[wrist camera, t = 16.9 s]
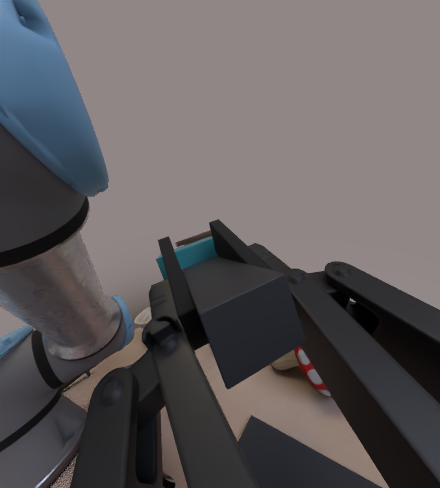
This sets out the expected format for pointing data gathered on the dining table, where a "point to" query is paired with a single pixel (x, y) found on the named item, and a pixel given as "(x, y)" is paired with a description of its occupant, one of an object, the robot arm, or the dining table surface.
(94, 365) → the knife
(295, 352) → the decorative mushroom
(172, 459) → the dining table surface
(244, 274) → the teal long block
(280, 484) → the mat
